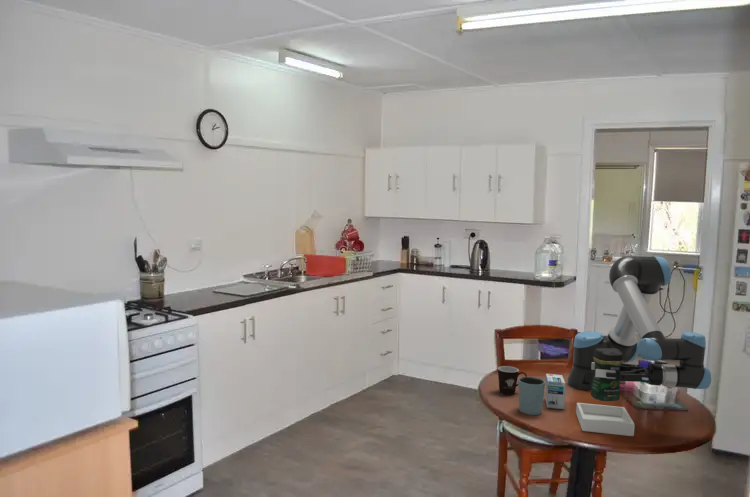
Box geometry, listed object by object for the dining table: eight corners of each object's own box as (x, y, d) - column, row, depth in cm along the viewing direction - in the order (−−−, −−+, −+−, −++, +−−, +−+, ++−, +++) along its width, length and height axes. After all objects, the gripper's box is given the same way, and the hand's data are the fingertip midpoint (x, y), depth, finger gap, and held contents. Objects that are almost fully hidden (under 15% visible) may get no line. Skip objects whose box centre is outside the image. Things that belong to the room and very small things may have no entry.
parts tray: (576, 413, 221) (576, 402, 221) (623, 418, 218) (624, 407, 217) (582, 430, 205) (583, 419, 204) (633, 436, 201) (634, 424, 201)
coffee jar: (598, 402, 206) (602, 351, 204) (587, 395, 214) (590, 345, 212) (624, 402, 207) (627, 351, 206) (611, 394, 215) (614, 345, 214)
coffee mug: (494, 394, 241) (496, 370, 240) (498, 387, 249) (499, 365, 248) (523, 398, 237) (524, 374, 236) (526, 392, 245) (527, 368, 244)
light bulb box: (564, 409, 225) (566, 382, 224) (546, 408, 226) (548, 381, 225) (561, 400, 236) (563, 374, 235) (544, 398, 237) (545, 373, 236)
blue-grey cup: (527, 416, 216) (529, 385, 215) (511, 407, 226) (512, 377, 225) (549, 413, 221) (551, 382, 219) (532, 404, 230) (533, 375, 229)
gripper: (668, 394, 196) (597, 388, 200) (652, 376, 217) (588, 371, 221) (670, 373, 195) (599, 367, 200) (653, 356, 216) (589, 351, 221)
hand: (593, 369), depth 210 cm, fingers closed on coffee jar, 8 cm apart
